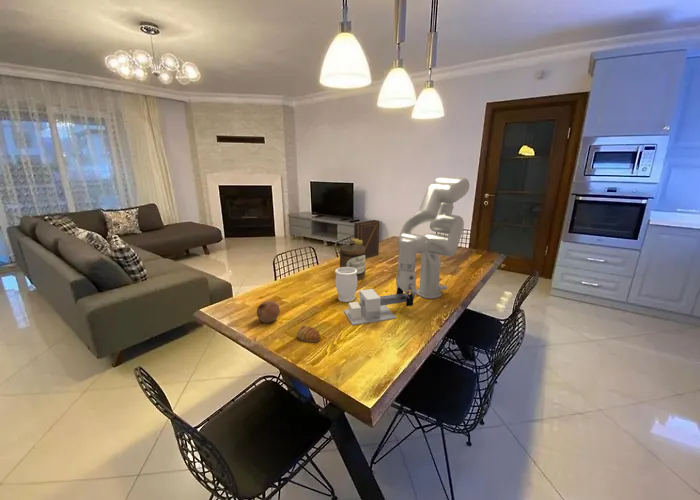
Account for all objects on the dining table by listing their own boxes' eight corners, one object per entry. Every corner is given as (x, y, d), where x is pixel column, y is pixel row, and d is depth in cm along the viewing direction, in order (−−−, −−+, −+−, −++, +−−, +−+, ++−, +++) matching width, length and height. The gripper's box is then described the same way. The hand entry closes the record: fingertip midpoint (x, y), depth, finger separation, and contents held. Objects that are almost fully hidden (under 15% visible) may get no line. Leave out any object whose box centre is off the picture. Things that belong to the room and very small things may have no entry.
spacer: (357, 301, 136) (348, 302, 135) (361, 307, 130) (352, 308, 129) (357, 311, 137) (348, 312, 136) (361, 318, 132) (352, 319, 131)
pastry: (324, 337, 119) (324, 328, 118) (314, 346, 113) (313, 337, 112) (306, 330, 124) (305, 322, 123) (295, 338, 118) (294, 330, 117)
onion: (263, 331, 128) (252, 316, 123) (262, 315, 136) (252, 300, 130) (284, 322, 129) (274, 306, 123) (282, 307, 137) (272, 291, 131)
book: (372, 252, 228) (373, 219, 221) (380, 255, 222) (381, 221, 214) (349, 258, 214) (349, 223, 207) (357, 261, 208) (358, 225, 201)
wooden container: (350, 283, 171) (350, 245, 165) (334, 275, 182) (334, 240, 176) (370, 277, 180) (370, 241, 174) (353, 270, 191) (354, 236, 185)
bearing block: (384, 305, 145) (385, 285, 142) (396, 318, 133) (397, 297, 130) (343, 311, 139) (343, 291, 136) (352, 325, 127) (352, 303, 124)
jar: (338, 304, 146) (338, 275, 141) (333, 295, 155) (333, 267, 151) (359, 301, 148) (360, 272, 144) (353, 293, 158) (354, 265, 154)
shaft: (406, 298, 141) (406, 292, 140) (409, 301, 138) (409, 295, 138) (365, 304, 135) (365, 298, 135) (367, 307, 133) (367, 301, 132)
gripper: (424, 271, 128) (421, 308, 133) (405, 259, 144) (403, 292, 148) (408, 273, 126) (405, 310, 130) (390, 260, 141) (389, 294, 146)
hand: (404, 301), depth 139 cm, fingers open, 9 cm apart
